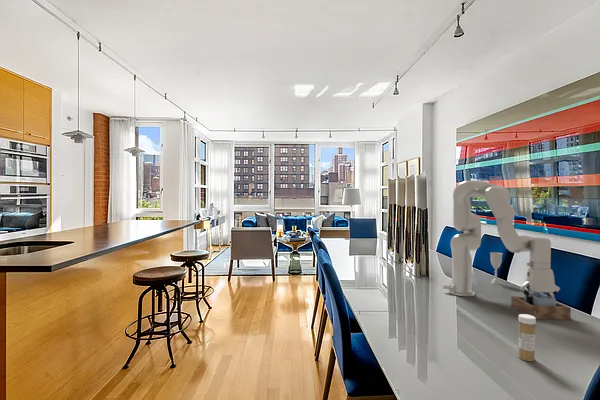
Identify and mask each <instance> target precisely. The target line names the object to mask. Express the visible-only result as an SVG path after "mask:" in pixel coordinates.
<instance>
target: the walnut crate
mask: <svg viewBox="0 0 600 400" xmlns="http://www.w3.org/2000/svg"><path fill="white" fill-rule="evenodd" d="M510 298H511V302H510V303H511V305H510V306H511V308H512V307H513V308H512V309H514V310H516V311H518V312H520V313H521V314H528V315H532V316H534V317H535V318H536V320H537V319H538V320H539V319H540V320H564V321H565V320H566V321H567V320H572V319H571V313H572V312H571V311H572V310H571V308H572V307H570V306H568V305H565V304H563V303H560V302H559V301H556V306H533V305H531V304H529V303H527V302H525V301H524V295H521V296H520V295H519V296H517V295H511V297H510Z"/></svg>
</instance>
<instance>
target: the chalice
mask: <svg viewBox="0 0 600 400" xmlns="http://www.w3.org/2000/svg"><path fill="white" fill-rule="evenodd" d="M489 254H490V264H491V266H492V267H493V269H494V278H493V279H492V280H491V282H490V283H491V284H493V285H501V282H500V280H499V279H498V269H499V268H500V266H501V264H502V263H503V259H502V258H503V254H504V253H502V252H495V251H494V252H493V251H492V252H489Z"/></svg>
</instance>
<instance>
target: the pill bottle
mask: <svg viewBox="0 0 600 400" xmlns="http://www.w3.org/2000/svg"><path fill="white" fill-rule="evenodd" d="M536 323H537V319H536V318H535V317H534V316H532V315H528V314H523V313H521V314H518V342H517V343H518V355H517V356H518V358H519V359H521V360H523V361H526V362H535V360H536V358H535V353H536V352H535V350H536Z"/></svg>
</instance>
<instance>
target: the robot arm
mask: <svg viewBox="0 0 600 400" xmlns="http://www.w3.org/2000/svg"><path fill="white" fill-rule="evenodd" d="M511 196H512V195H511V192H510V191H509V189H508V188H506V187H504V186H501V185H497V184H493V183H489V182H486V181H483V180H470V179H469V180H464V181H461V182H459V183H458V184H457V185H456V186H455V187H454V189H453V193H452V201H453V203H452V204H453V210H452V211H453V213H452V215H453V216H452V218H453V219H452V221H453V227H454V229H455V230H456V231H459V232H463V233H457V234H455V235H454V236H452V237H451V239H450V248H451V249H450V251H451V283H449V284H448V285H446V284H444V285H443V284H442V286H441V287H442V289H443V290H448V293H449V294H451V295H454V296H458V297H459V296H460V297H474V296H475V295H476V293H475V291H474V290H473V289H472V281H473V277H472V276H473V275H472V274H473V258H472V255H471V251H477V250H478V249H479V248H480V247H481V244H482V222H481V218H480V217H479V216H478V214H476V213H473V212H472V203H471V200H470V198H481V199H484V200H485V202H486V203H487V206H488V207H489V209H490V211H491V212H492V214H493V217H494V218H495V220H496V228H497V232H498V235H499V238H500V239H501V242H502V244H504V246H505V249H507V250H508V251H509V252H511V253H514V254H521V253H526V252H528V253H529V262H527V263H526V265H527V267H528V268H527V272H526V275H525V276H526V277H525V282H524V283H522V284H521V285H519V289H520V290H521V292H522V293H523V295H524V294H525V295H526V302H527V303H529V304H531V305H533V298H532V297H531V296H532V294H533V293H534V292H539V293H543V294H545V293H546V295H548V296H550V297H552V298H555V296H556V295H557V294H558V292H559V291H560V290H561V287H560V286H558V285H556V283H555V274H554V271H553V269H551V261H552V260H551V258H552V257H551V256H552V255H551V254H552V252H551V251H552V249H551V248H552V247H551V246H552V242H551V239H549V238H547V237H533V236H530V235H529V236H528V235H519V234H518V233H517V231H516V229H515V227H514V226H515V225H514V223H513V222H514V217H515V215H516V212H515V210H514V208H513V207H512V205H511V204H510V202H509V201H510V200H511Z"/></svg>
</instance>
